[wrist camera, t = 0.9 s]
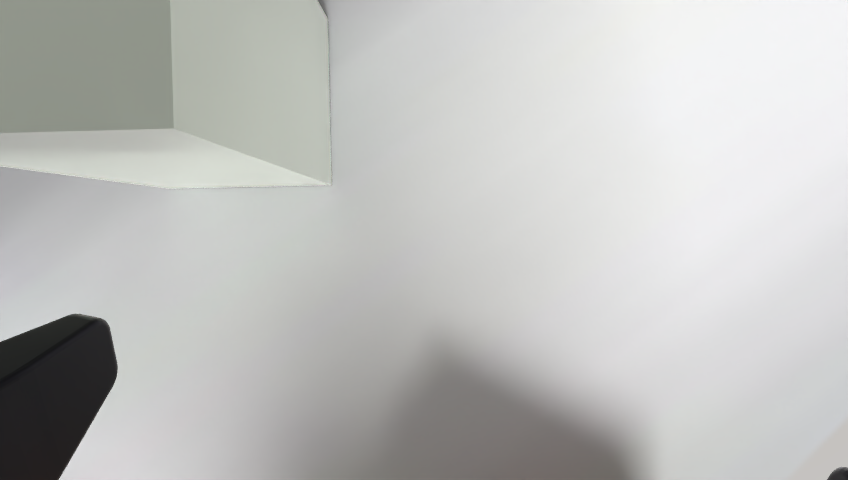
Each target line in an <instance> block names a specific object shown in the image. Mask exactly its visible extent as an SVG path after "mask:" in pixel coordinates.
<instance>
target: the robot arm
mask: <svg viewBox="0 0 848 480" xmlns="http://www.w3.org/2000/svg"><path fill="white" fill-rule="evenodd" d="M117 369H118V366H117V360H116V355H115V350H114V346H113V341H112V336H111V331H110V327H109V325H108V323H107V322H106V321H105V320H103V319H101V318H97V317H92V316H87V315H82V314H71V315H68V316H66V317H63V318H60V319H58V320H55V321H53V322H50V323H48V324H45V325H43V326H40V327H37V328H35V329H32V330H30V331H27V332H25V333H22V334H20V335H17V336H15V337H12V338H9V339H7V340H4V341H2V342H0V480H59V478H60V476H61V475H62V473H63V471H64V470H65V468H66V466H67V465H68V463H69V461H70V459H71V458H72V456H73V454H74V453H75V451H76V449H77V447H78V446H79V444H80V442H81V440H82V439H83V437H84V435H85V434H86V432H87V430H88V428H89V427H90V425H91V423H92V421H93V420H94V418H95V416H96V415H97V413H98V411H99V409H100V408H101V406H102V404H103V402H104V401H105V399H106V397H107V396H108V394H109V392H110V390H111V389H112V387H113V385H114V383H115V380H116V377H117ZM827 480H848V468H847V467H840V468H837V469H836V470H834V471H833V472H832V473H831V474H830V476H829V478H828V479H827Z"/></svg>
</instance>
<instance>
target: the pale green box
mask: <svg viewBox="0 0 848 480" xmlns="http://www.w3.org/2000/svg"><path fill="white" fill-rule="evenodd" d="M0 166H2V167H9V168H17V169H24V170H32V171H39V172H47V173H54V174H62V175H69V176H77V177H84V178H92V179H99V180H107V181H114V182H122V183H129V184H137V185H144V186H152V187H159V188H167V189H185V188H230V187H275V186H320V185H332V171H331V127H330V84H329V41H328V18H327V16H326V15H325V13H324V11H323V9H322V8H321V6H320V4H319V2H318V0H0Z"/></svg>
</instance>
